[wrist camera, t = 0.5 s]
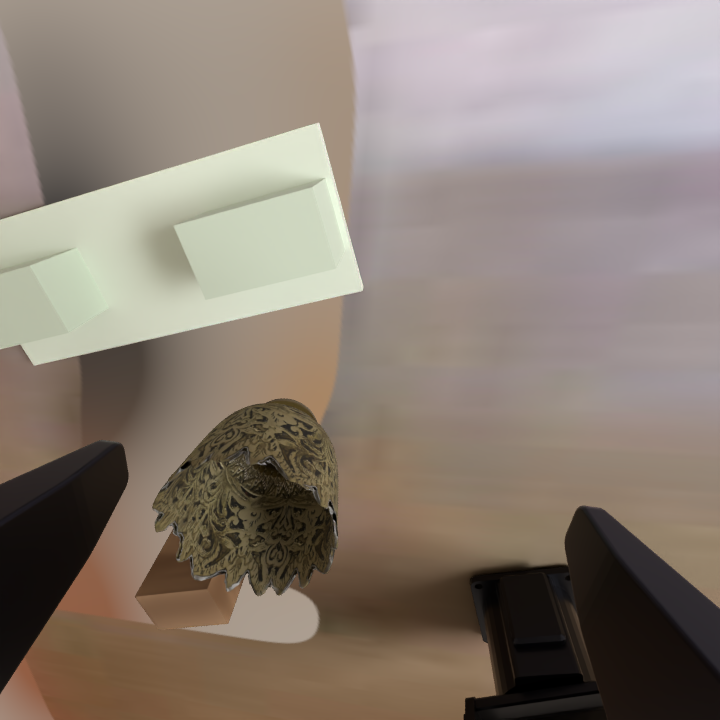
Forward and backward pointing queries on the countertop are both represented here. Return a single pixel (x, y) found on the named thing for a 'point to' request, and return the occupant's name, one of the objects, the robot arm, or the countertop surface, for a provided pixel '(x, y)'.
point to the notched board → (177, 250)
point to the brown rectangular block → (184, 593)
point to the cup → (256, 499)
